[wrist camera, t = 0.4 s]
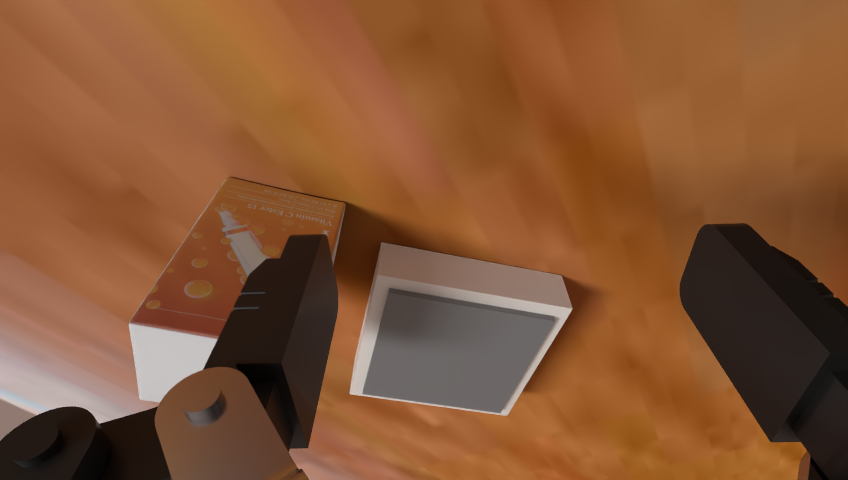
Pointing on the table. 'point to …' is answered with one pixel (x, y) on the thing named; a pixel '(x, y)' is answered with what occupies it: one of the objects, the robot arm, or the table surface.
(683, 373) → the table surface
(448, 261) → the stack base
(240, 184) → the small box
